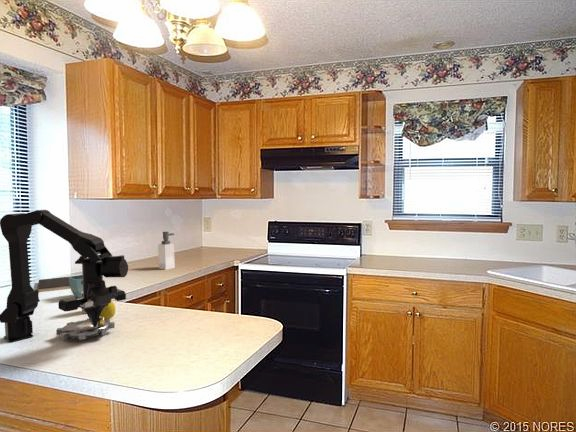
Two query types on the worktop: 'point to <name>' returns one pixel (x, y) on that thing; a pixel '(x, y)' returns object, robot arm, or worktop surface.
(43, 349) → the worktop surface
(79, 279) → the flower pot
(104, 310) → the lemon
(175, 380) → the worktop surface
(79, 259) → the robot arm
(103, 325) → the sprocket
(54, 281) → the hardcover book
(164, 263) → the soap dispenser
